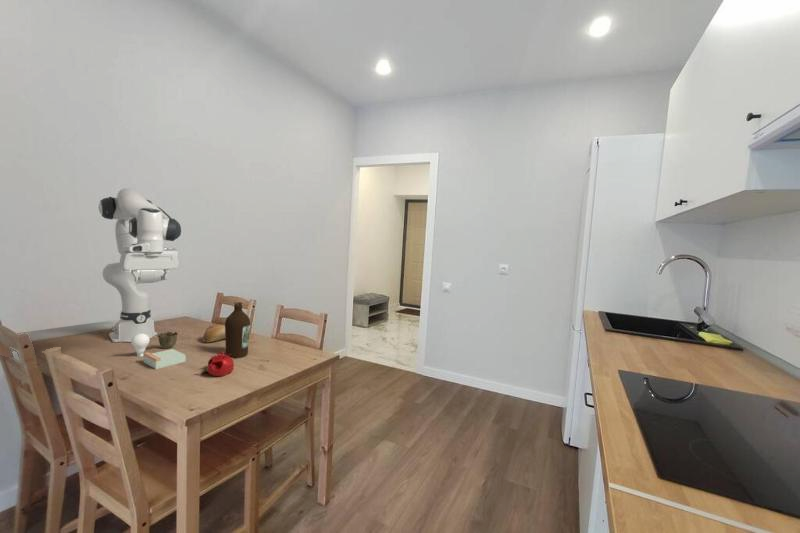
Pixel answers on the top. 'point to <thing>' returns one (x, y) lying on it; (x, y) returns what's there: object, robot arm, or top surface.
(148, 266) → the robot arm
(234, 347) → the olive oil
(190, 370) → the top surface
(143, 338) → the lightbulb
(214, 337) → the bread roll
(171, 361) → the mint green flat box
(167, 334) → the cup
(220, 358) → the pomegranate
